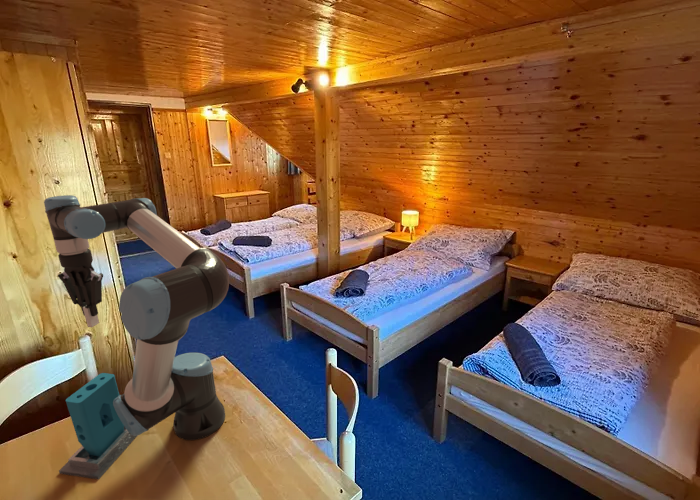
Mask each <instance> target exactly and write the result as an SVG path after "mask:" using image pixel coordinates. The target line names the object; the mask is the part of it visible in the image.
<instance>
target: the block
mask: <svg viewBox="0 0 700 500" xmlns="http://www.w3.org/2000/svg"><path fill="white" fill-rule="evenodd" d="M119 395H120V392H119V389H118V384H117V380H116V375H115V374H113V373H107V372H101V373H99V374H98V375H96V376H95V377H94V378H92V379H91V380H89V381H88V382H87V383H86V384H84V385H83V386H81V387H80V388H78V390H76V391H75V392H73V393H72V394H71V395H70V396H68V397H67V398H66V399H65V402H66V406H67V410H68V412H69V415H70V418H71V422H72V425H73V428H74V431H75V435H76V439H77V441H78V443H79V444H80V445H81V447H82V446H83V447H84V448H85V450H86V451H87V452H88V453H89V454H90V455H93V456H99V457H100V456H101V455H102V454H103V453H104V452H105V451H106V450H107V449H108V448H109V447H110V446H111V445H112V444H113V442H114V441H115V440H116V439H117V438H118V437H119V436H120V435H121V434H122V433H123V432H124V425H123V423H122V422H121V420H120V418H119V417H118V415H117V413H116V411H115V408H114V406H113V400H114V399H115V398H117V397H118V396H119Z"/></svg>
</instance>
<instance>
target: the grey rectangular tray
mask: <svg viewBox="0 0 700 500" xmlns="http://www.w3.org/2000/svg"><path fill="white" fill-rule="evenodd" d="M137 437H138V436H133V435H131V434H130V433H129V432H128V430H127V429H126V428H125V426H124V432H123V433H122V434H121V435H120V436H119V437H118V438H117V439H116V440H115V441H114V442H113V444H112V445H111V446H110V447H109V448H108V449H107V450H106V451H105V452H104V453H103V454H102V455H101V456H100V457H99V456H93V455H90V454H89V453H88V452H87V451H86V450H85V448H84V447H83V446H82V445H81V446H80V448H78V449H77V450H76V451H75V452H74V453H73V454H72V455H71V456H70V457H69V458H68V461H67V462H66V463H65V464H64V465H63V466H62V467H61V468H60V469H59V470H58V472H59V473H58V474H61V475H67V476H73V477H79V478H80V477H81V478H87V479H92V480H93V479H94V480H100V479H101V478H102V477H103V475H104V474H105V473H106V472H107V471H108V470H109V468H111V466H112V465H113V464H114V463H115V461H117V460H118V458H119V457H121V455H122V454H123V453H124V452H125V450H126V449H127V448H128V447H129V446H130V445H131V443H133V441H134V440H135V439H136V438H137Z"/></svg>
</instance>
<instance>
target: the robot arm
mask: <svg viewBox="0 0 700 500" xmlns="http://www.w3.org/2000/svg"><path fill="white" fill-rule="evenodd" d="M43 204H44V209H45V210H44V212H45V214H46V217H47V220H48V223H49V227H50V231H51V234H52V237H53V242H54V246H55V250H56V253H58V255H57V256H58V260H59V263H60V267H61V268H63V270H64V271H63V272H61V273H59V274H58V275H57V276H58V278H59V280H60V281H62V284H63V285H64V288H65V289H66V292H67V294H68V295H69V297H70V299H71V302H72V303H73V304H74V305H78V306H79V307H80V308H81V311H82V315H83V316H84V318H85V322H86V324H87V327H88V328H94V327H95V326H97V325H98V324H99V323H100V319H99V316H98V315H99V310H98V308H97V307H98V306H97V305H98V304H100V303H102V302H103V298H102V297H103V295H102V294H103V292H102V291H103V290H102V289H103V288H102V285H103V278H104V274H103V273H102V272H100V273H97V271H95V267H93V265H92V263H93V260H94V258H93V254H92V250H91V249H89V248H90V243H89V240H92V239H95V238H98V237H99V236H101V235H102V234H103V233H109V232H112V231H113V232H114V231H117V230H118V231H119V230H122V229H128V230H129V231H130V232H132V233H133V234H134V235H136V237H138V238H139V239H140V240H141V241H143V242H144V244H146V245H147V246H148V247H150V249H153V250H154V251H155V252H156V253H157V254H158V255H160V256H161V257H162V258H163V259H164V260H166V261H167V262H168V263H170V265H171V266H173V267H174V269H171V270H168V271H165V272H161V273H158V274H156V275H153V276H147V277H143V278H141V279H140V280H138V281H135V282H133V283H130V284H129V285H127V286H126V287H125V288H124V289H123V290H122V292H121V295H120V298H119V303H118V305H119V306H118V307H119V313H120V314H121V315H120V319H121V322H122V323H123V327H124V328H125V330H126V331H127V333H128V334H129V335H130V337H132V338H135V340H136V345H135V346H136V348H135V354H134V355H135V356H134V364H133V373H132V378H131V379H130V380H129V381H128V383H127V384H126V386H125V388H124V393H122V394H119V396H118V397H117V398H115V399H114V400H113V406H114V408H115V411H116V413H117V415H118V417H119V418H120V420H121V422H122V423H123V425H124V426H125V428H126V429H127V430H128V432H129V433H130V434H131V435H133V436H137V437H138V436H140V435H142V434H144V433H145V432H148V431H150V430H151V428H153V427H155V426H156V425H158V424H159V423H161V422H162V421H164V420H165V419H167V418H168V417H170V416H172V415H173V414H174V418H173V429H174V434H175V435H176V437H178V438H180V439H182V440H186V441H195V440H201V439H204V438H207V437H209V436H210V435H212V434H214V433H215V432H216V431H218V429H220V428H221V427H222V425H223V424H224V422H225V420H226V410H225V407H224V405H223V403H222V401H220V399H219V397H218V395H217V390H216V384H215V376H214V368H213V364H212V361H211V358H210V356H208V355H206V354H204V353H201V352H186V353H182V354H178V355H176V352H177V349H178V344H179V341H180V340H181V339H182V338H183V337H184V336H185V335H186V333H188V330H189V327H190V322H191V320H192V319H195V318H197V317H199V316H201V315H203V314H205V313H208V312H211V311H212V310H213V309H215V308H218V306H219V305H220V304H222V302H223V301H224V299H225V298H226V297H227V294H228V291H229V286H230V275H229V274H230V273H229V271H228V268H227V267H226V264H225V263H224V261H223V260H222V259H221V258H220V257H219V256H218V254H216V253H215V252H213V251H212V250H210V249H209V248H207V247H199V245H197V244H196V243H194V242H193V241H191V240H190V239H189V238H187V236H185V235H184V234H182V233H181V232H180V231H178V230H177V229H176V228H174V227H173V226H172V225H170V224H169V223H167V222H166V220H164V219H162V218H161V217H159V216H158V214H157V209H156V206H155V204H154V203H153V201H152V200H151V199H149V198H147V197H142V198H140V197H139V198H131V199H127V200H125V199H124V200H120V201H114V202H107V203H102V204H94V205H93V204H92V205H88V206H81V203H80V202H79V199H78V197H77V196H76V195H72V194H70V195H68V194H67V195H56V196H54V195H53V196H50V197H47V198H45V199H44V201H43Z"/></svg>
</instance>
